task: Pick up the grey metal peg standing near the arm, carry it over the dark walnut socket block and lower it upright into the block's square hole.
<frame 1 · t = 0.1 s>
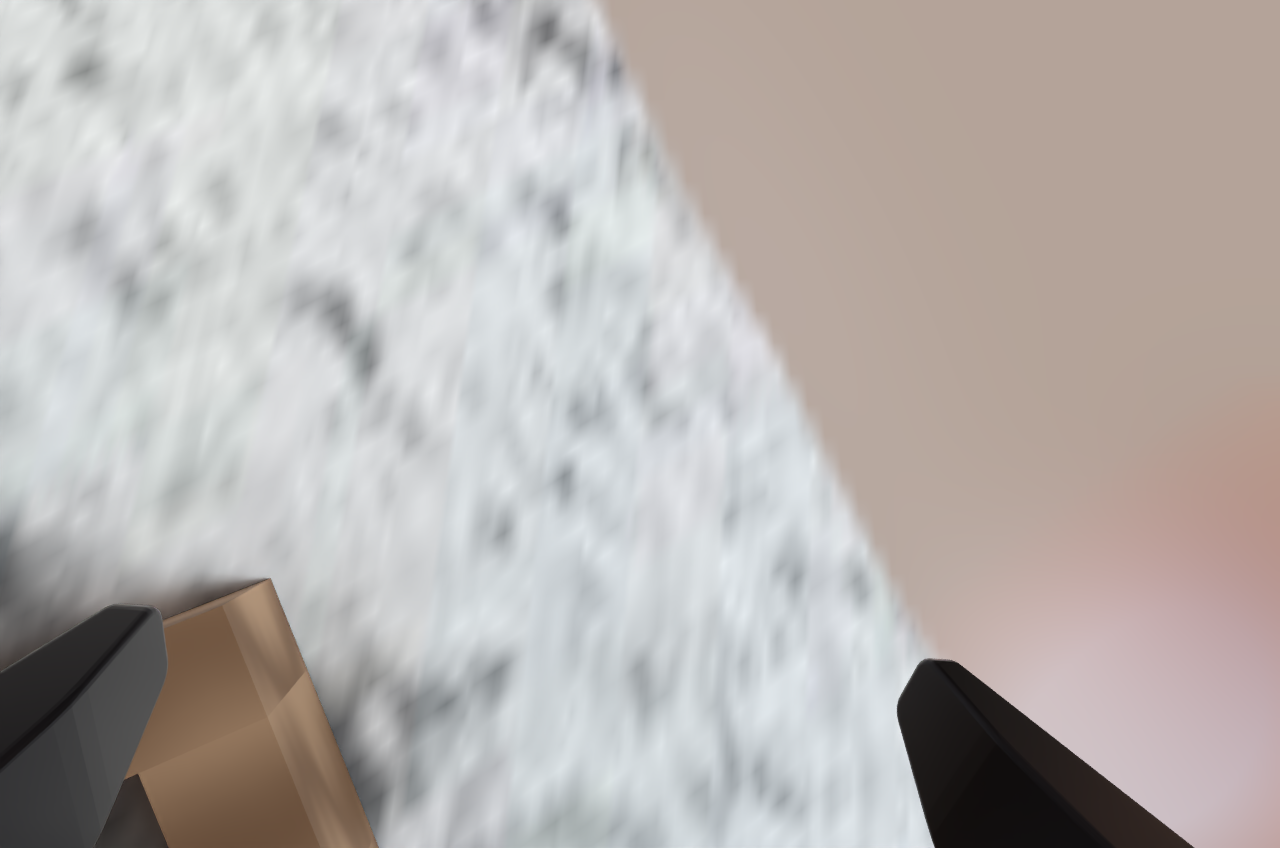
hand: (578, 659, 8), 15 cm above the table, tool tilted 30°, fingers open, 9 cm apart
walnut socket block: (138, 844, 20), on the table
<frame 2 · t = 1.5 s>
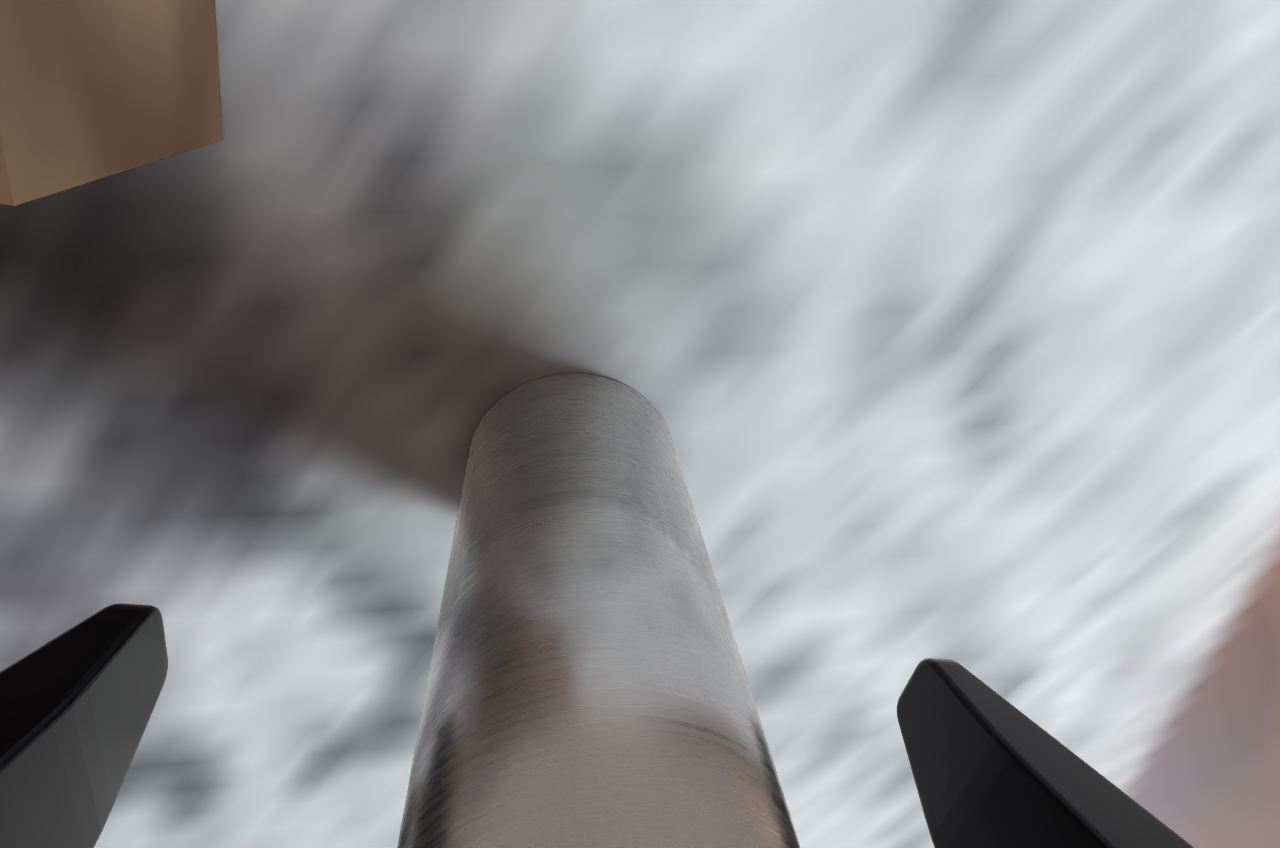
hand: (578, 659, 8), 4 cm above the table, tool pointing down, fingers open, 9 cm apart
grey metal peg: (573, 465, 12), on the table
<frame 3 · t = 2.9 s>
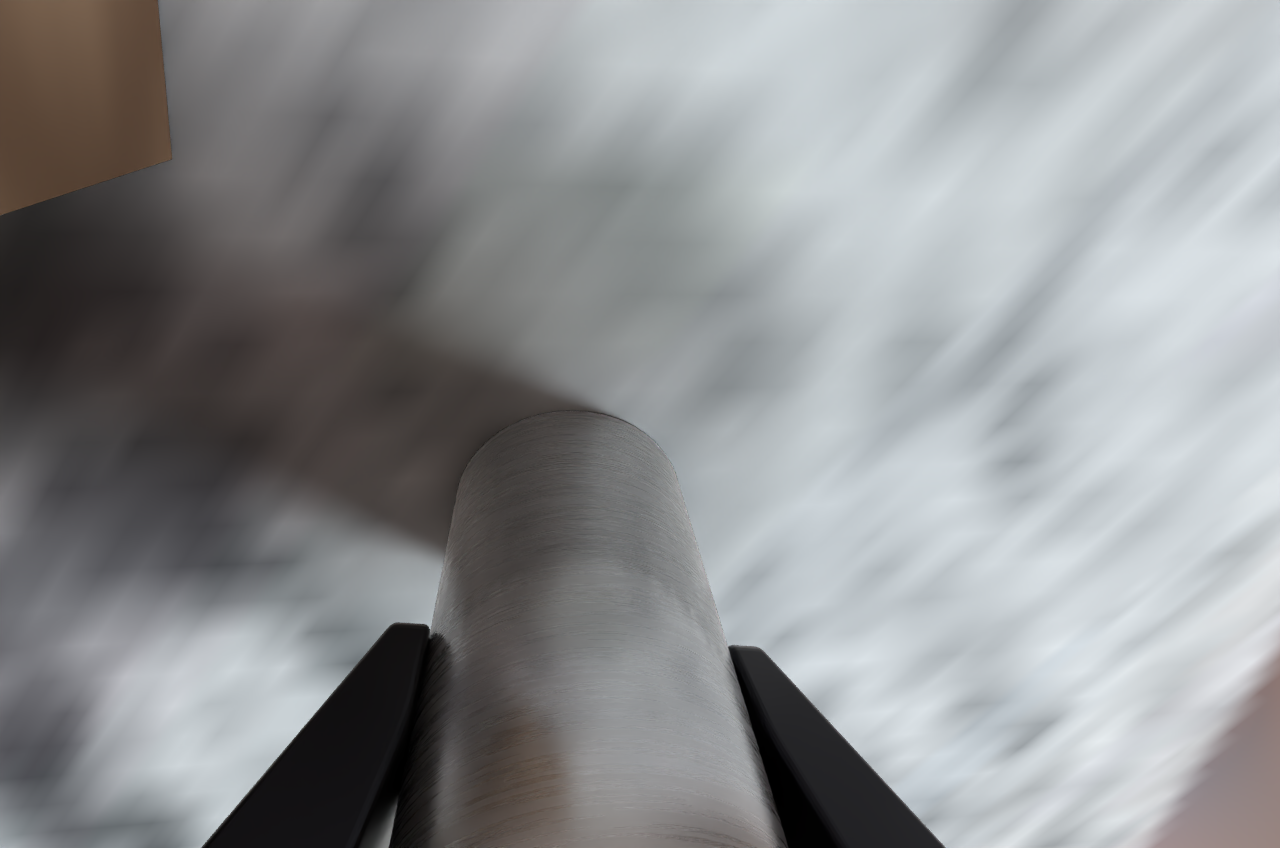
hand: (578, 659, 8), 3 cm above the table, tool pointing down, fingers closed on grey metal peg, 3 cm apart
grey metal peg: (570, 508, 11), on the table, touching gripper
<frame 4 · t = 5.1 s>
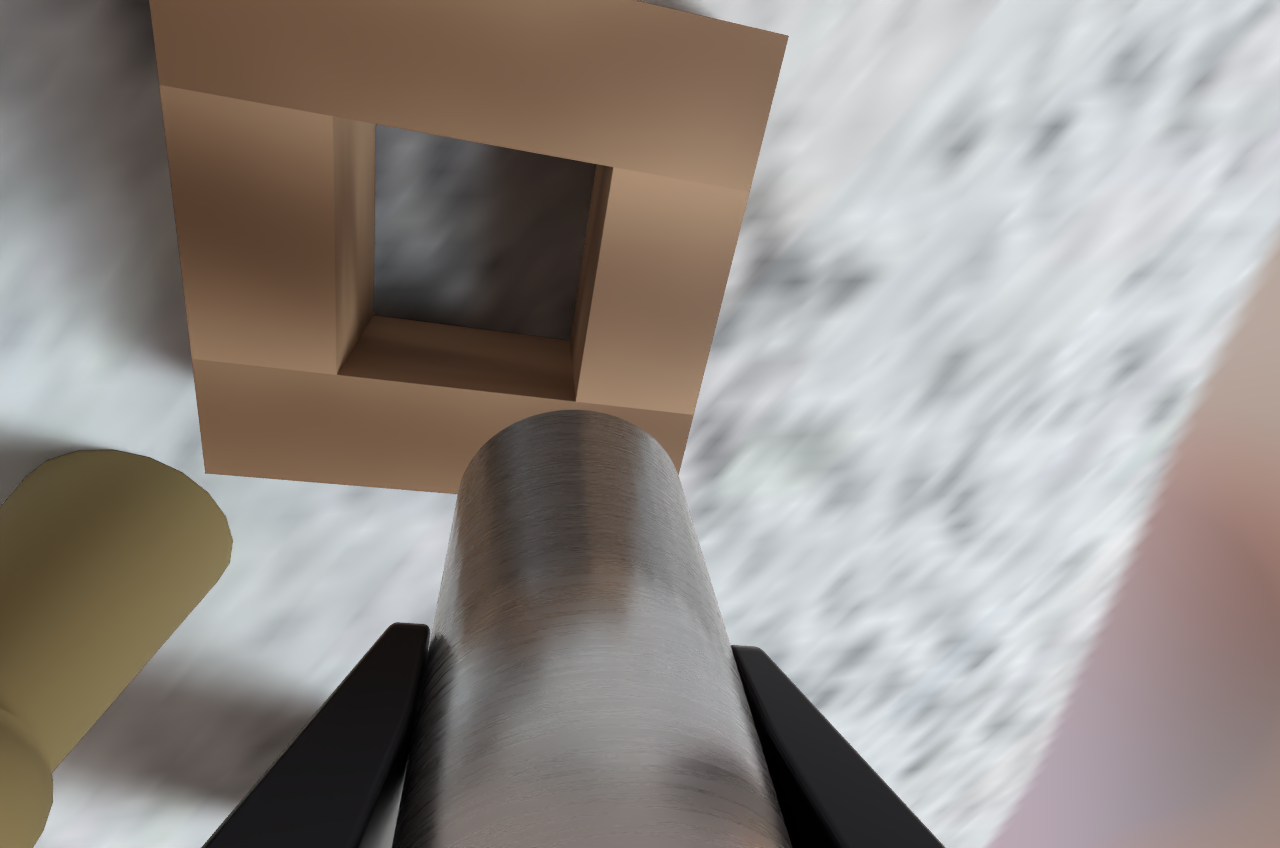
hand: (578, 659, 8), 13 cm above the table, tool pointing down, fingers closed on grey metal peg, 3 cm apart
grey metal peg: (571, 508, 11), point 10 cm above the table, touching gripper
cork: (130, 528, 22), on the table
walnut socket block: (482, 232, 19), on the table
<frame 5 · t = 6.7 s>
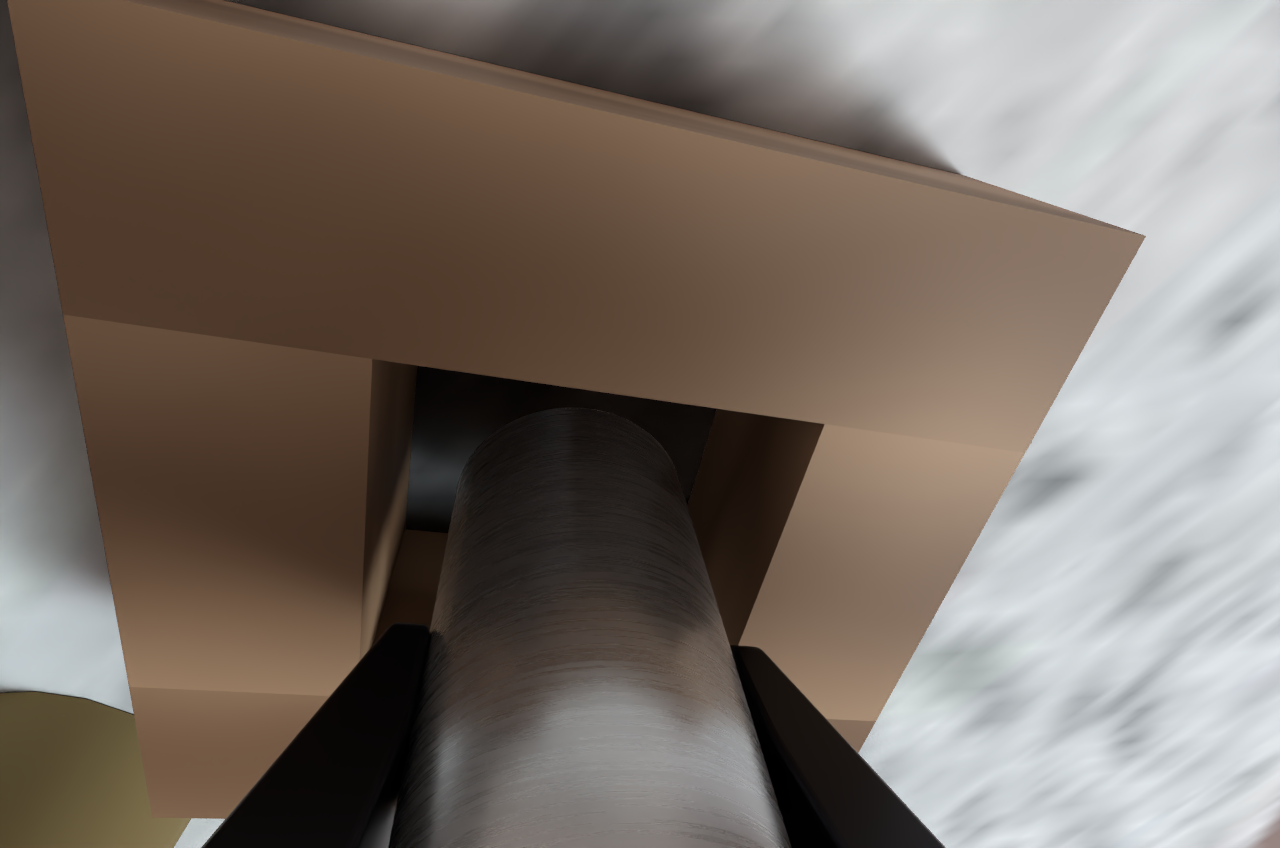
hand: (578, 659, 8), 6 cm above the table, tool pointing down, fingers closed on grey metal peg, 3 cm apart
grey metal peg: (570, 506, 11), point 2 cm above the table, touching gripper
cork: (61, 773, 16), on the table
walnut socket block: (566, 427, 13), on the table
when the fingers open (5 cm above the table, at t = 7.8 s): grey metal peg drops 2 cm, resting in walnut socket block.
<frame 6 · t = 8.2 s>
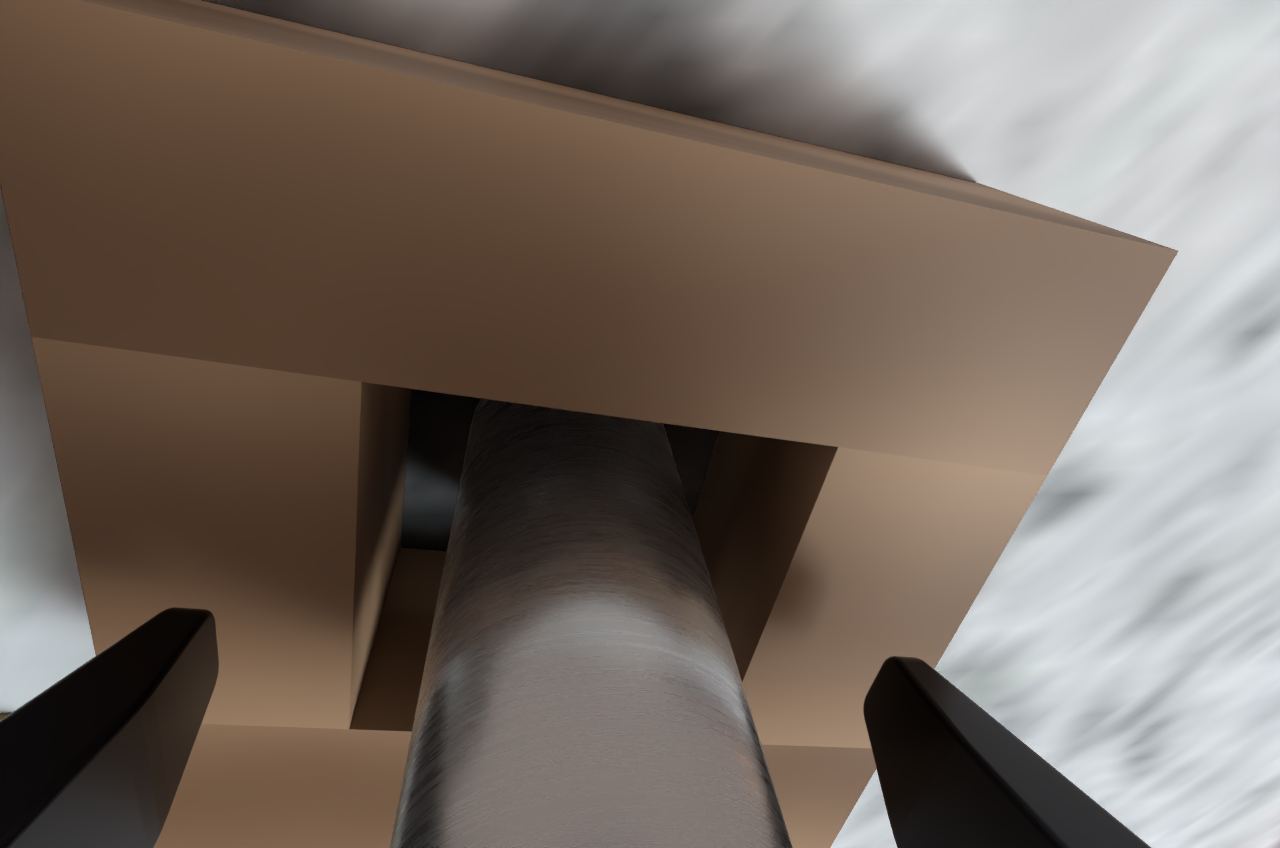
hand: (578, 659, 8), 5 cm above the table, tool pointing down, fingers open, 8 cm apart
grey metal peg: (568, 442, 13), resting in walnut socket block
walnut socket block: (566, 443, 13), on the table
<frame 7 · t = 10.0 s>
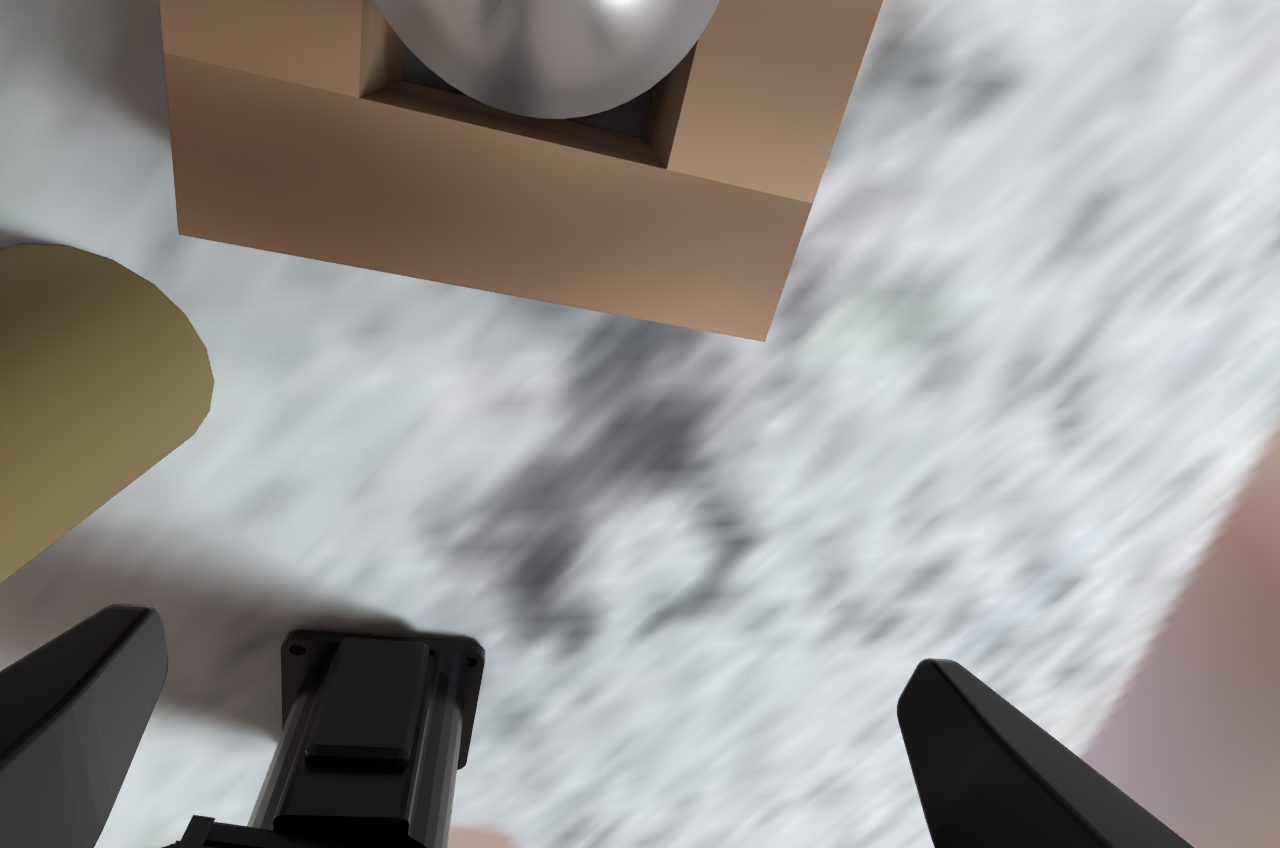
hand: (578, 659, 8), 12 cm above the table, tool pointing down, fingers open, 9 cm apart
cork: (88, 357, 18), on the table
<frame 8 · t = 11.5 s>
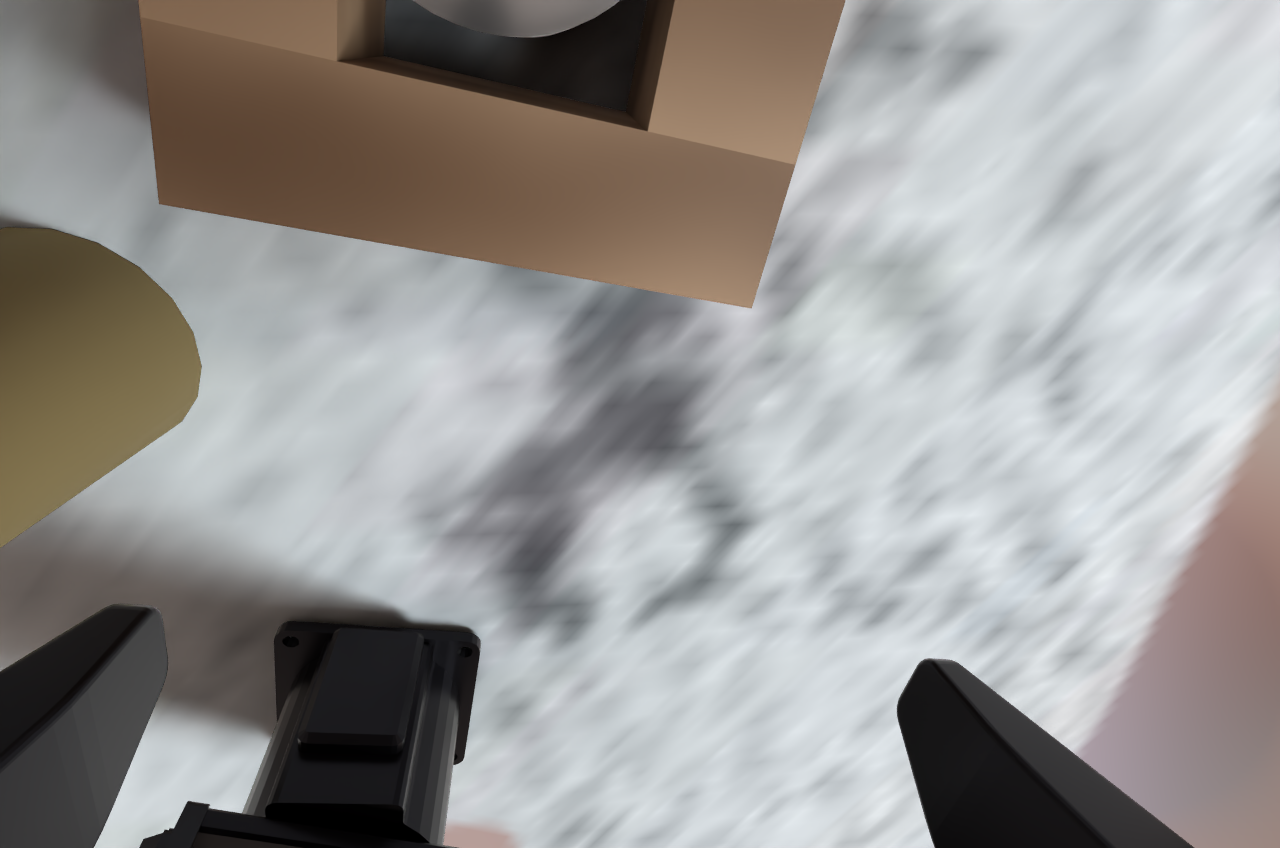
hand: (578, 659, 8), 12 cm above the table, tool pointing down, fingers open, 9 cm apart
cork: (75, 343, 18), on the table
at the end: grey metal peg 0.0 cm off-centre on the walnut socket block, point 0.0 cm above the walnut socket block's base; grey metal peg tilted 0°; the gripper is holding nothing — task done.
